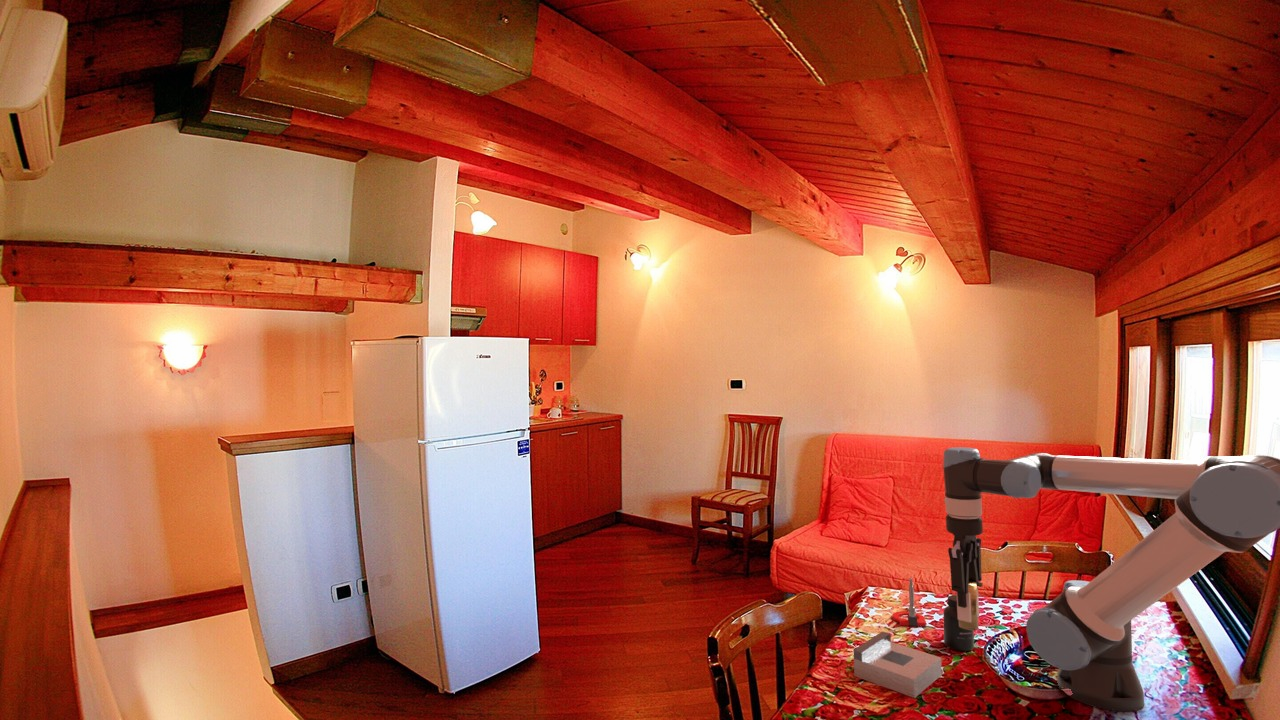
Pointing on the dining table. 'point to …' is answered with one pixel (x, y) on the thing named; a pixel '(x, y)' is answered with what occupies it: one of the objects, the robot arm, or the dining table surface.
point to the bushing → (974, 608)
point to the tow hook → (910, 612)
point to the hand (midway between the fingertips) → (968, 617)
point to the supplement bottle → (956, 629)
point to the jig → (895, 665)
